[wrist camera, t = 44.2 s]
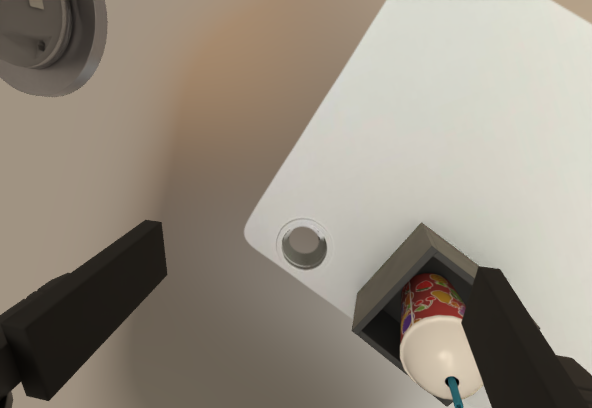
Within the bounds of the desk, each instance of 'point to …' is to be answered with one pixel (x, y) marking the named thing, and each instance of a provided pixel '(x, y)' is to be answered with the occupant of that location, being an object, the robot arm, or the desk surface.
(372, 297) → the bin
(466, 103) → the desk surface
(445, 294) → the smoothie
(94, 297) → the robot arm
